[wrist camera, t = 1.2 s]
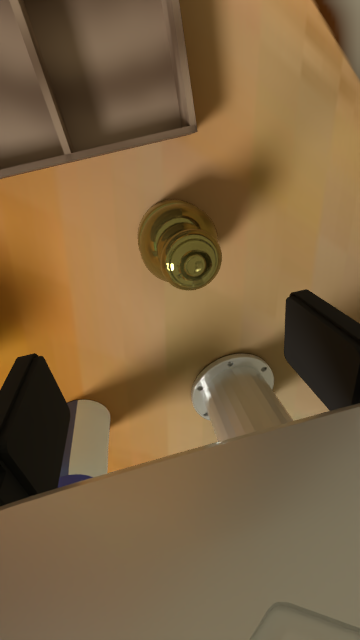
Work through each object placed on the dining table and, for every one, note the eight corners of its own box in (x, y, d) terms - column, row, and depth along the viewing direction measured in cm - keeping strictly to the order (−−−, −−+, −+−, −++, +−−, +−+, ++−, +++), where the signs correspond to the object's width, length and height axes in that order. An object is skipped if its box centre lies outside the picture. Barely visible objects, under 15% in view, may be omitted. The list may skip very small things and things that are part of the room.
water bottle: (73, 449, 42) (32, 742, 21) (37, 415, 38) (-61, 742, 17) (123, 426, 42) (133, 699, 21) (92, 390, 38) (66, 688, 16)
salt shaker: (214, 252, 32) (251, 286, 23) (154, 279, 32) (169, 323, 24) (192, 185, 28) (227, 197, 20) (124, 216, 28) (128, 241, 20)
